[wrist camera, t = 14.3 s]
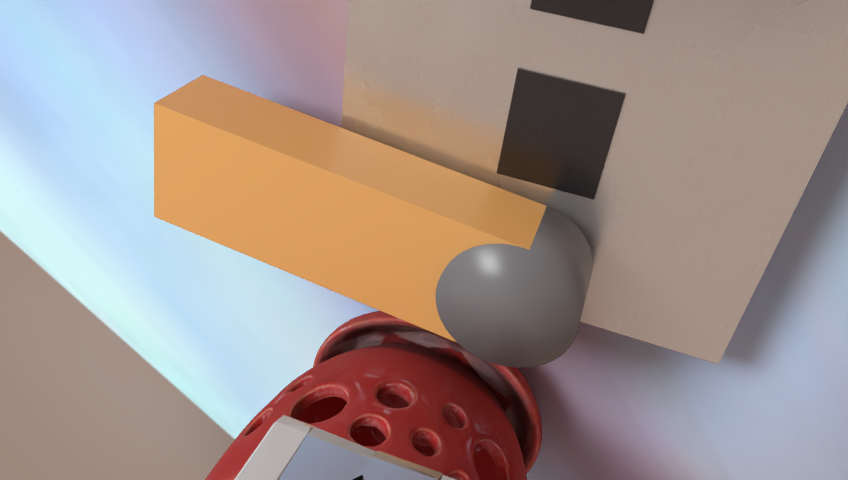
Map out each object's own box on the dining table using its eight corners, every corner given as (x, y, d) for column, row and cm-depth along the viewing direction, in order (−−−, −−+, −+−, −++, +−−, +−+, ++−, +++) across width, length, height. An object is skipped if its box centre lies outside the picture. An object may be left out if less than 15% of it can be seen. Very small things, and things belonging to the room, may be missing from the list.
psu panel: (942, -138, 19) (963, -131, 18) (718, 331, 29) (718, 365, 27) (387, -226, 22) (360, -227, 21) (353, 223, 32) (333, 247, 30)
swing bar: (202, 74, 28) (149, 106, 25) (613, 231, 25) (601, 284, 23) (198, 182, 30) (149, 220, 28) (565, 330, 28) (550, 387, 26)
